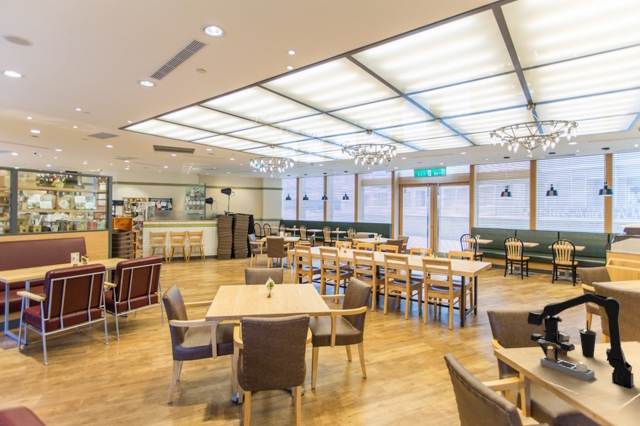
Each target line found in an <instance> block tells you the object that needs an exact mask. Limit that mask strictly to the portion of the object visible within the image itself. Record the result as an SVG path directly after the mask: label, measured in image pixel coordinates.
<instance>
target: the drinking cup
mask: <svg viewBox="0 0 640 426" xmlns="http://www.w3.org/2000/svg"><path fill="white" fill-rule="evenodd" d="M578 332H579V337H580V345H581V352H582V354H581V355H582V356H583V357H586V358H588V357H590V359H593V358H594V356H595V347H596V339H597V338H596V337H597V332H596V331H593V330H592V329H589V320H586V328H583V329H579V330H578Z"/></svg>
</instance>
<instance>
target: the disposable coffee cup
mask: <svg viewBox="0 0 640 426" xmlns="http://www.w3.org/2000/svg"><path fill="white" fill-rule="evenodd" d="M558 331H559V332H560V334H562V335H564V338H563V341H558V342H561V343H563V342H568V343H570V339H571V336H570V333H568V332H566V331H561V330H558ZM551 347H552V349H554V350H555V348H556V347H557V345H554V344H551ZM568 353H569V351H565V350H562V351H561V353H560V355H559V356H564V357H568Z"/></svg>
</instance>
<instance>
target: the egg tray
mask: <svg viewBox="0 0 640 426" xmlns="http://www.w3.org/2000/svg"><path fill="white" fill-rule="evenodd" d="M539 359H540V361H539V363H540V365H542V366H545V367H547V368H551V369H553V370H557V371H559V372H562V373H564V374H567V375H570V376H572V377H576V378H579V379H581V380H584V381H590V380H591V379H593V378H595V376H596V375H595V370H593V369H590V368H587V373H583V372H581V371H578V370H576V363H575V364H574V363H571V362H569V361H565V360H562V359H559V358H558V360H556V361H555V362H551V361H548V359H547V357H546V356H542V357H540V358H539Z"/></svg>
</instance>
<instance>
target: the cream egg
mask: <svg viewBox="0 0 640 426" xmlns="http://www.w3.org/2000/svg"><path fill="white" fill-rule="evenodd" d="M575 365H576V370H578V371H581V372H583V373H587V369H588V366H587V364H585V363H584V362H581V361H579V362H577V363H575Z"/></svg>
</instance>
